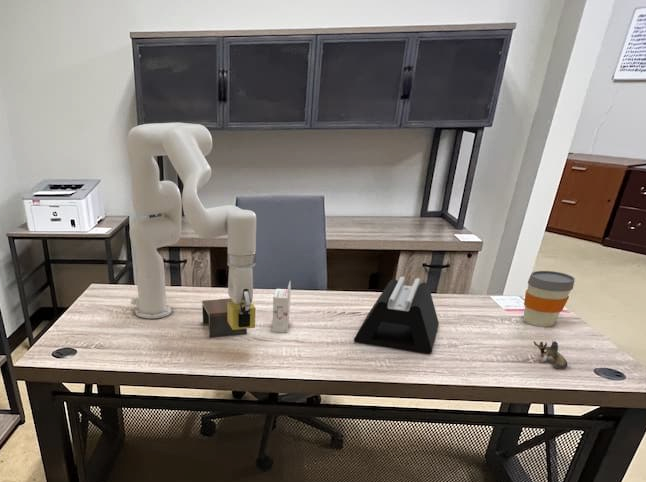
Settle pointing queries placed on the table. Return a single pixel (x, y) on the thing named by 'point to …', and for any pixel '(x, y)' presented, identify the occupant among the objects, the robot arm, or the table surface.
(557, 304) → the reusable coffee cup
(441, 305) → the table surface
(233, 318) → the sticky-note cube
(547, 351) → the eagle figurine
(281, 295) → the ink cartridge box
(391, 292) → the device stand
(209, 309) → the stand
